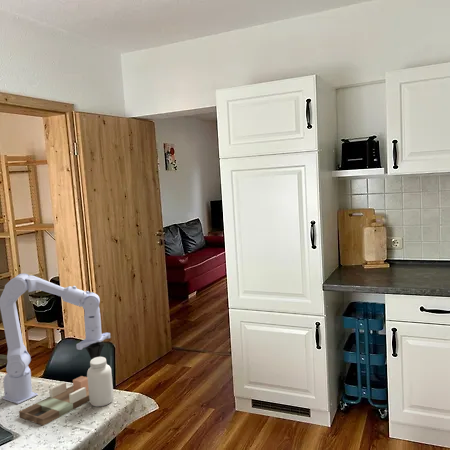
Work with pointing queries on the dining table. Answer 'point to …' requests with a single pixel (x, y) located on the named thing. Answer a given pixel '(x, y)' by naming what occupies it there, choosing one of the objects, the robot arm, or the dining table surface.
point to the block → (80, 383)
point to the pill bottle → (100, 382)
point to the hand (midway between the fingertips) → (95, 362)
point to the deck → (52, 407)
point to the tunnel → (73, 396)
